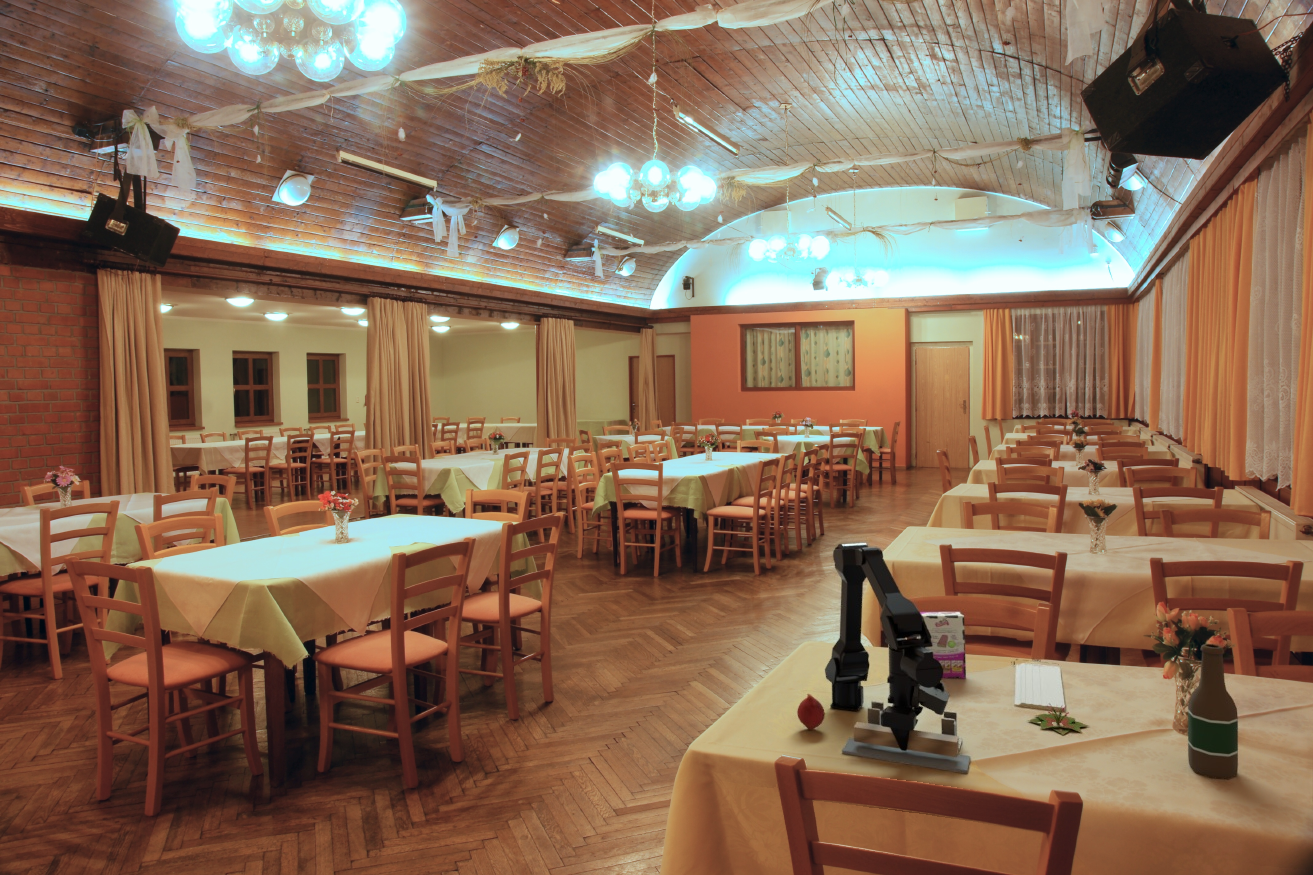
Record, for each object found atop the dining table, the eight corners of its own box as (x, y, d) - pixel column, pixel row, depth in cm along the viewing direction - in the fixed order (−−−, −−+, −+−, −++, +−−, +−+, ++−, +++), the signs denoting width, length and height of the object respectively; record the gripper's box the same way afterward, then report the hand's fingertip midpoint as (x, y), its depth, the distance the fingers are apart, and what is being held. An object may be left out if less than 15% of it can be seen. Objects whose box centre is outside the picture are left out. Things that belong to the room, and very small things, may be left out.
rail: (854, 741, 166) (853, 726, 165) (857, 735, 168) (856, 721, 168) (957, 757, 157) (956, 742, 157) (958, 751, 159) (958, 736, 159)
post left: (863, 737, 172) (862, 708, 172) (868, 726, 178) (868, 699, 177) (884, 740, 170) (883, 711, 170) (889, 729, 176) (888, 701, 175)
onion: (826, 725, 179) (825, 690, 179) (822, 736, 173) (822, 699, 173) (800, 723, 181) (799, 688, 180) (795, 733, 175) (795, 697, 175)
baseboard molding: (1007, 707, 188) (1065, 714, 183) (1007, 695, 188) (1065, 701, 183) (1010, 667, 216) (1059, 672, 211) (1010, 656, 216) (1059, 661, 211)
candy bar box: (961, 672, 211) (960, 610, 211) (966, 679, 206) (965, 615, 206) (917, 672, 213) (916, 610, 212) (921, 678, 208) (920, 615, 207)
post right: (936, 748, 166) (936, 718, 165) (940, 737, 171) (939, 708, 171) (959, 751, 164) (958, 721, 163) (962, 740, 169) (961, 711, 169)
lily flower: (1101, 730, 174) (1101, 709, 173) (1065, 741, 168) (1065, 720, 168) (1051, 712, 184) (1051, 692, 184) (1015, 722, 179) (1015, 702, 179)
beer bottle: (1178, 763, 156) (1177, 640, 155) (1215, 760, 156) (1215, 638, 156) (1209, 781, 148) (1208, 652, 147) (1248, 778, 149) (1248, 650, 148)
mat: (842, 753, 165) (842, 750, 165) (849, 740, 171) (849, 737, 171) (967, 773, 154) (967, 770, 154) (970, 758, 160) (970, 755, 160)
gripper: (940, 691, 150) (941, 773, 151) (951, 661, 167) (952, 735, 167) (879, 683, 155) (880, 763, 155) (896, 655, 172) (897, 727, 172)
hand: (905, 747), depth 162 cm, fingers closed on rail, 3 cm apart
